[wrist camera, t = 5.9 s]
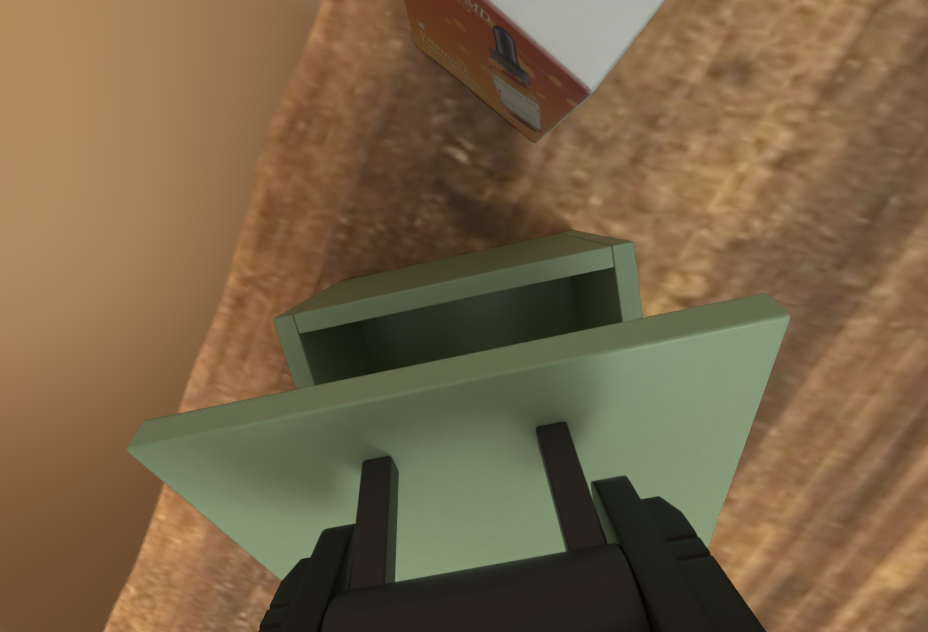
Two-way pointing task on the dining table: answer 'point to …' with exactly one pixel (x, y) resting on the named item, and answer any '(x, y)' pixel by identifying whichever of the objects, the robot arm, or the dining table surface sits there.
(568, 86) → the small box
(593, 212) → the dining table surface
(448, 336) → the chest
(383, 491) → the lid
